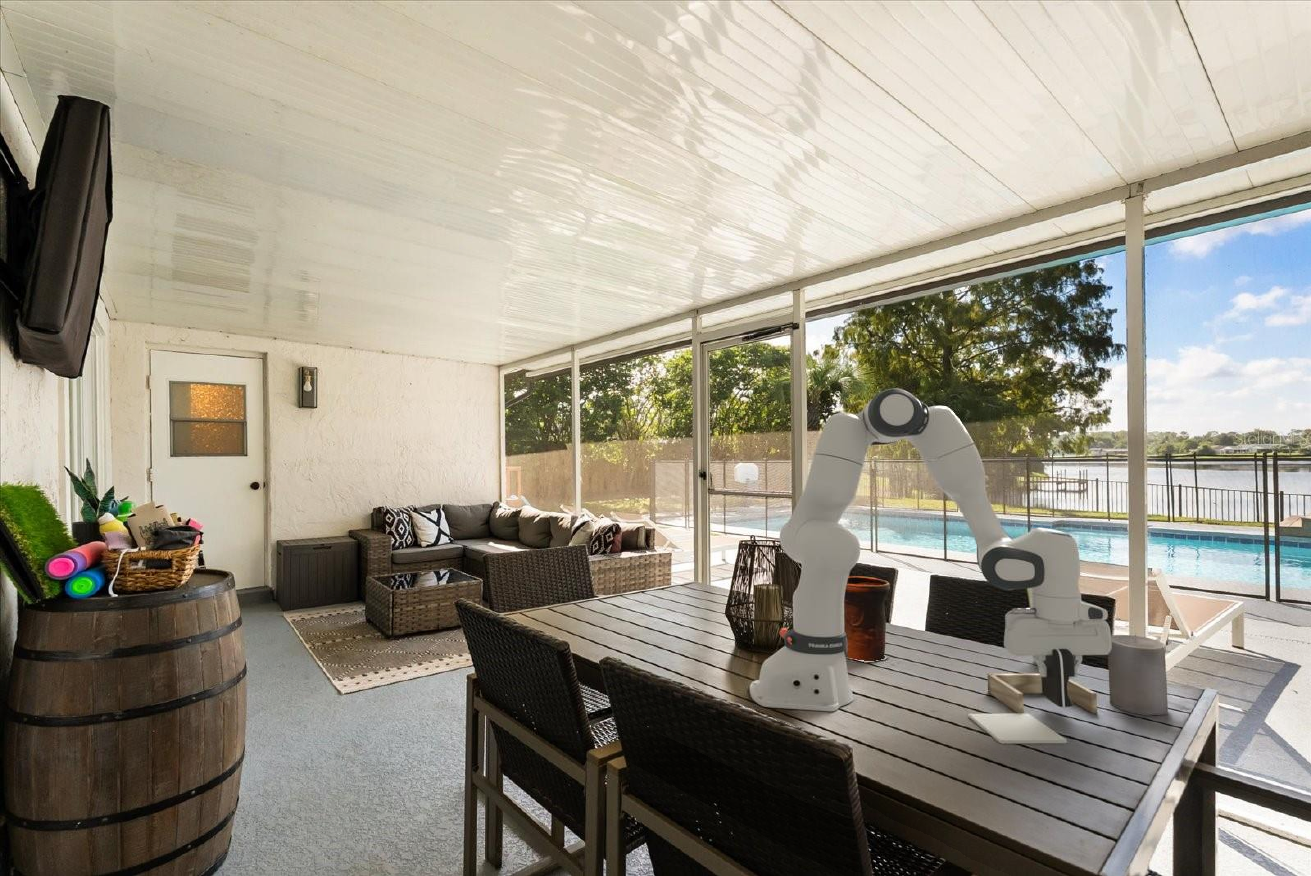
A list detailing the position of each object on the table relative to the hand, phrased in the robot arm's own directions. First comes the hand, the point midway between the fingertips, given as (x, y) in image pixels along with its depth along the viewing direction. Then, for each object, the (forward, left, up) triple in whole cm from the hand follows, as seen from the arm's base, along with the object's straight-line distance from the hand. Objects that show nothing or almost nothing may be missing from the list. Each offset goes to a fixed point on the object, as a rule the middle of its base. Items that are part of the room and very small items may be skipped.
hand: (1057, 676), depth 127 cm
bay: (0, +6, -8) cm, 10 cm away
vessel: (-27, +40, -8) cm, 49 cm away
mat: (-13, -7, -8) cm, 17 cm away
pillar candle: (+19, +3, -8) cm, 21 cm away
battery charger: (0, 0, -5) cm, 5 cm away
